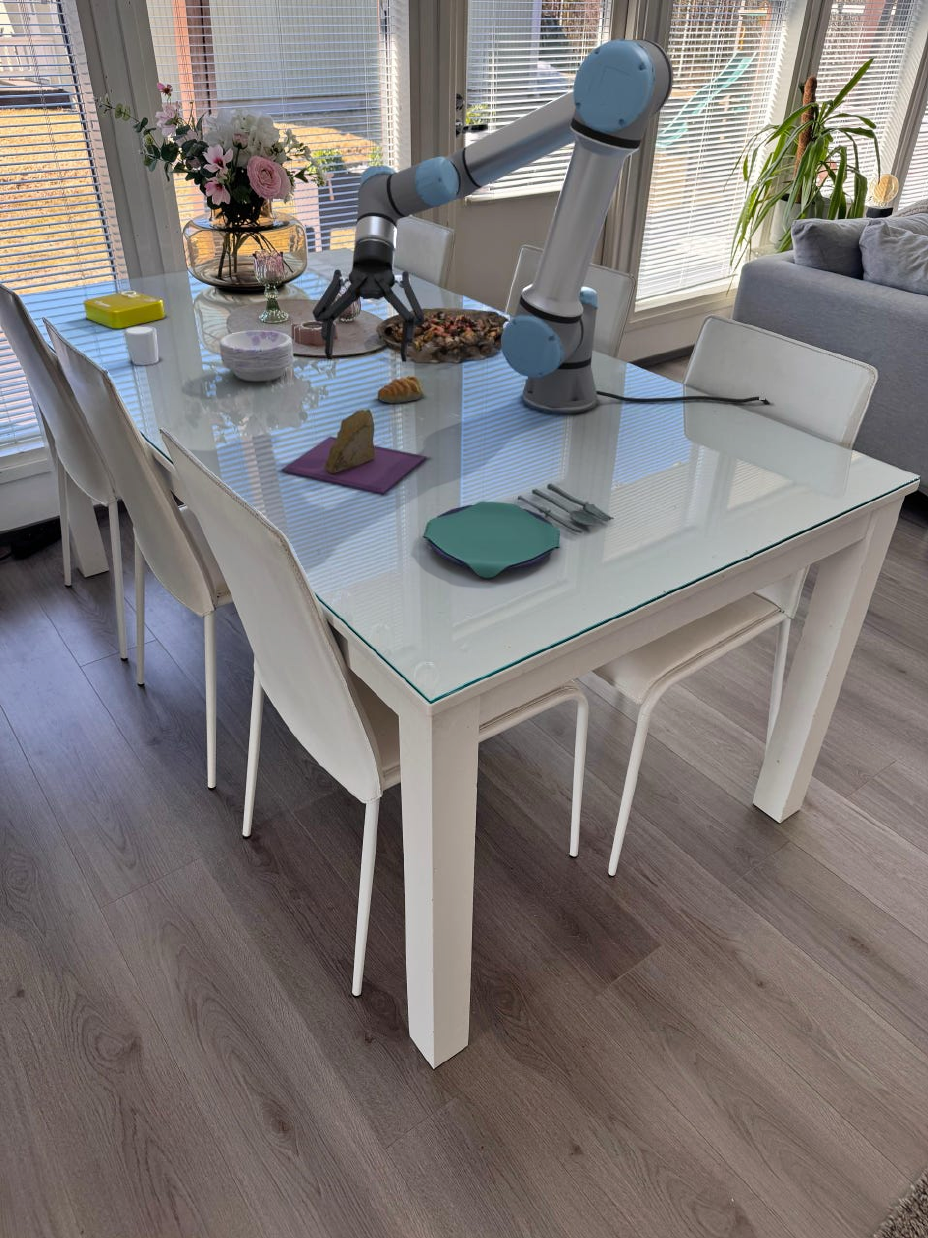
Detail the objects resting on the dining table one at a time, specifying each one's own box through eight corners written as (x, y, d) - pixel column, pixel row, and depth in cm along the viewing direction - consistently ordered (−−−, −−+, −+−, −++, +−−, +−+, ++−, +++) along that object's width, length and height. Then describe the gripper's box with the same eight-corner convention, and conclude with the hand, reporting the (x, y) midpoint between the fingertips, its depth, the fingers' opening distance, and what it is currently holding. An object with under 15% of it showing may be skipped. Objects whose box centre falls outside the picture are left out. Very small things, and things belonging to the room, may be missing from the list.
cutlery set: (400, 538, 136) (399, 524, 135) (544, 486, 151) (545, 474, 150) (482, 594, 123) (483, 580, 122) (631, 532, 139) (632, 518, 137)
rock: (328, 469, 149) (385, 454, 151) (313, 420, 149) (370, 406, 151) (325, 482, 159) (378, 468, 161) (310, 437, 159) (364, 423, 161)
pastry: (389, 407, 180) (388, 389, 178) (370, 398, 184) (369, 380, 182) (426, 397, 185) (426, 379, 183) (407, 388, 189) (406, 371, 187)
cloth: (426, 458, 160) (426, 456, 160) (383, 494, 148) (383, 491, 148) (330, 438, 166) (330, 436, 166) (282, 471, 154) (281, 468, 154)
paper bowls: (289, 361, 202) (285, 325, 198) (299, 383, 190) (296, 346, 186) (220, 366, 198) (215, 330, 194) (227, 390, 186) (222, 352, 182)
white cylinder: (123, 363, 199) (116, 331, 195) (143, 354, 204) (137, 323, 200) (148, 367, 197) (142, 335, 193) (167, 358, 202) (162, 327, 198)
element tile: (83, 317, 227) (79, 298, 224) (135, 306, 236) (132, 287, 234) (116, 330, 219) (112, 310, 216) (168, 317, 228) (165, 298, 226)
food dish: (467, 377, 198) (467, 343, 193) (349, 353, 212) (346, 320, 208) (540, 333, 222) (542, 301, 217) (430, 314, 236) (429, 283, 232)
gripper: (443, 263, 167) (436, 368, 163) (311, 260, 168) (301, 364, 164) (440, 239, 159) (433, 348, 155) (303, 236, 161) (292, 344, 157)
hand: (365, 357), depth 160 cm, fingers open, 13 cm apart
